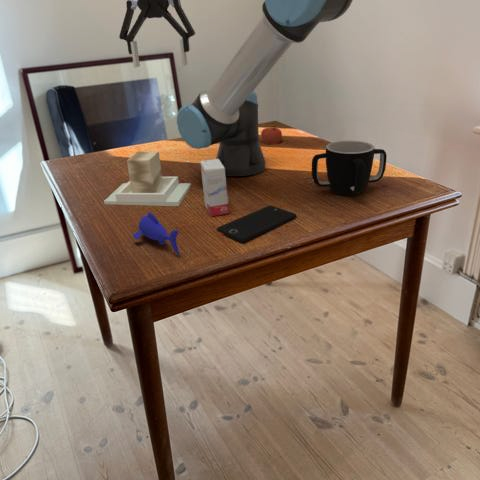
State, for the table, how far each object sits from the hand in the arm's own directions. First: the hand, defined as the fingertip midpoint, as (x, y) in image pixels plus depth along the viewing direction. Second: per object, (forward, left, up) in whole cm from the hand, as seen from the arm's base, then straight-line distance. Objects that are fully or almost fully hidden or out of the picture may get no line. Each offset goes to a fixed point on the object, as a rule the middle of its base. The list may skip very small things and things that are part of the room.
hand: (160, 66), depth 130 cm
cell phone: (-29, +33, -32) cm, 55 cm away
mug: (-51, +11, -32) cm, 61 cm away
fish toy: (-10, +45, -32) cm, 56 cm away
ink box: (-18, +25, -32) cm, 44 cm away
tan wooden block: (+2, +17, -30) cm, 35 cm away
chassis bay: (+2, +17, -32) cm, 36 cm away
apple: (-27, -32, -32) cm, 53 cm away
